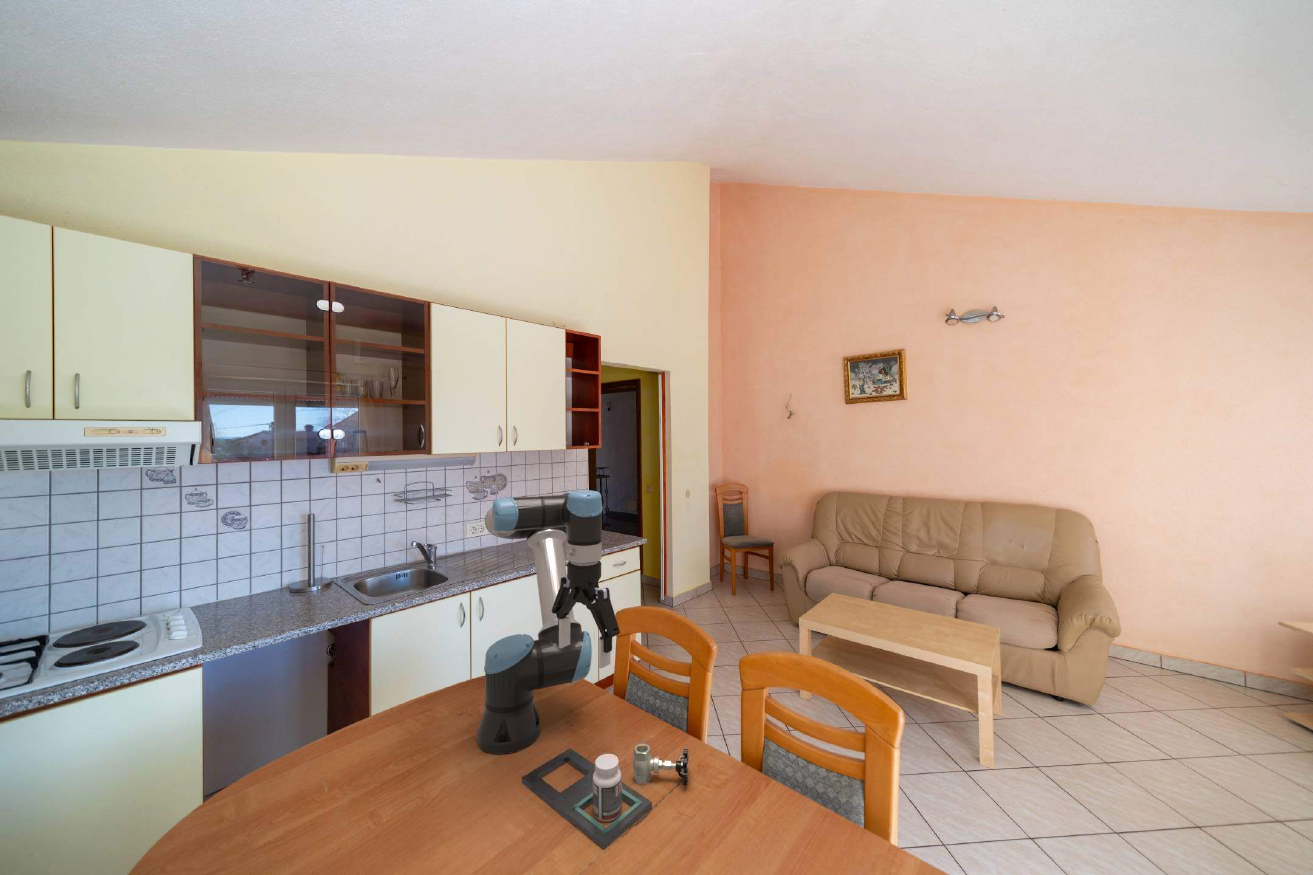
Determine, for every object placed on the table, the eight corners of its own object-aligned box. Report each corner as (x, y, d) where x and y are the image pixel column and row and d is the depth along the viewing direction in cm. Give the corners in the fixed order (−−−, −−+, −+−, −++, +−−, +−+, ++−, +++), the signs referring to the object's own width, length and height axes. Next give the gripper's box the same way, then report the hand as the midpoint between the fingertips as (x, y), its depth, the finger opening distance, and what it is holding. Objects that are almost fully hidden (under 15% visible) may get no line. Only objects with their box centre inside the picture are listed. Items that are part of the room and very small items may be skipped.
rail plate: (521, 782, 103) (521, 776, 103) (569, 752, 113) (569, 746, 113) (603, 849, 86) (603, 841, 86) (652, 807, 95) (651, 800, 96)
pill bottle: (626, 804, 96) (626, 755, 96) (614, 826, 91) (614, 773, 91) (600, 798, 98) (600, 749, 98) (587, 818, 93) (587, 767, 93)
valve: (630, 788, 101) (687, 793, 100) (630, 757, 101) (686, 761, 100) (635, 767, 107) (688, 771, 106) (635, 738, 108) (688, 741, 106)
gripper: (536, 553, 111) (536, 643, 112) (611, 577, 95) (610, 682, 95) (562, 547, 117) (562, 633, 117) (636, 568, 101) (635, 668, 101)
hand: (583, 655), depth 106 cm, fingers open, 13 cm apart
